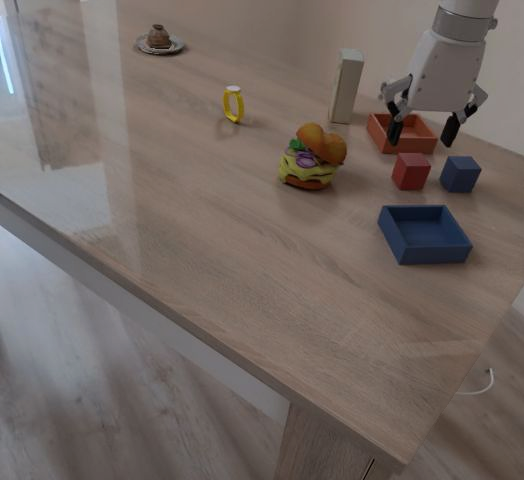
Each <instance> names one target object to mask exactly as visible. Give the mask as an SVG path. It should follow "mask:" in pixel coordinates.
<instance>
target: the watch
mask: <svg viewBox="0 0 524 480" xmlns="http://www.w3.org/2000/svg"><path fill="white" fill-rule="evenodd" d="M230 95H233V96H234V98H235V102H236V105H237V108H236V109H237V113H236V116H234V115H233V112H232V110H231V105H230ZM222 108H223V112H224V114H225V117H226V118H227V119H229V120H230V121H232V122H233V123H238V122H241V121H242V120H243V118H244V114H245V103H244V99H243V96H242V94H241V87H240V86H237V85H228V86H226V87H225V90H224V92H223V95H222Z"/></svg>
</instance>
